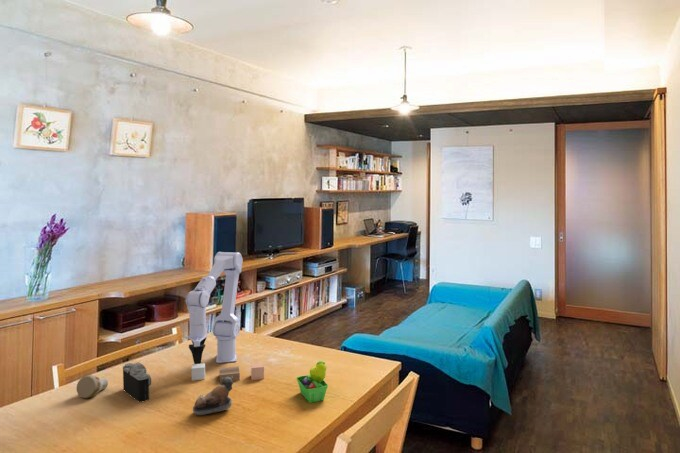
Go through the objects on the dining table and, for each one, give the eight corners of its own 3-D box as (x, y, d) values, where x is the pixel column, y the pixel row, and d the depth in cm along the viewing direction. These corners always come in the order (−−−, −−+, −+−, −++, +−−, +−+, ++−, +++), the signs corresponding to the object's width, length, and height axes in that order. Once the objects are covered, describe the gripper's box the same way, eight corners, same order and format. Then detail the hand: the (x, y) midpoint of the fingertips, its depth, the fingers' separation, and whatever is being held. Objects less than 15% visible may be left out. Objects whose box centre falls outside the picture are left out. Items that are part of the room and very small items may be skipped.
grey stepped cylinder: (115, 387, 154) (110, 368, 149) (93, 410, 146) (87, 391, 141) (98, 380, 156) (92, 361, 151) (75, 402, 148) (68, 383, 143)
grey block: (192, 376, 164) (192, 364, 164) (205, 374, 165) (205, 363, 165) (191, 380, 160) (191, 368, 160) (204, 379, 161) (204, 367, 161)
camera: (159, 396, 146) (159, 367, 146) (139, 403, 142) (138, 372, 141) (141, 384, 157) (140, 356, 156) (121, 390, 152) (120, 361, 151)
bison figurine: (194, 420, 130) (193, 386, 130) (191, 410, 137) (191, 378, 136) (235, 412, 135) (234, 380, 135) (231, 403, 142) (230, 372, 141)
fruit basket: (295, 391, 150) (295, 359, 150) (320, 387, 154) (320, 355, 153) (306, 405, 140) (306, 370, 139) (332, 400, 143) (332, 366, 143)
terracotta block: (250, 375, 165) (250, 363, 164) (263, 374, 166) (262, 362, 165) (251, 380, 160) (251, 368, 160) (264, 379, 161) (263, 366, 161)
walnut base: (219, 376, 165) (219, 368, 165) (238, 374, 167) (238, 366, 167) (219, 383, 158) (219, 375, 158) (239, 381, 160) (239, 373, 160)
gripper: (187, 319, 168) (188, 354, 168) (184, 329, 153) (184, 368, 154) (207, 318, 169) (207, 353, 170) (205, 328, 155) (206, 366, 156)
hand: (198, 360), depth 162 cm, fingers open, 7 cm apart
